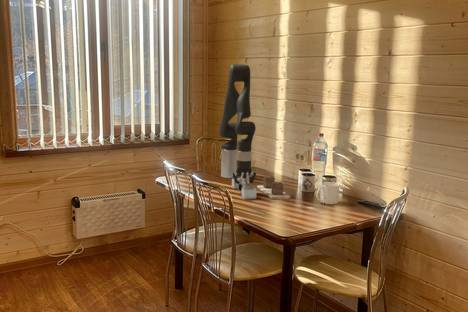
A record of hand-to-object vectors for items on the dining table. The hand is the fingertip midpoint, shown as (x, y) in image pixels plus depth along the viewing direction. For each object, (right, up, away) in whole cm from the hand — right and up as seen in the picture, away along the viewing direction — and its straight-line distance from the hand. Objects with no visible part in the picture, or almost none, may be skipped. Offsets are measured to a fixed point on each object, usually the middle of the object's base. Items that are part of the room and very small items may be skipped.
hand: (243, 190), depth 244 cm
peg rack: (+16, -1, +2) cm, 16 cm away
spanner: (0, -1, 0) cm, 1 cm away
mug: (+42, -5, -13) cm, 44 cm away
